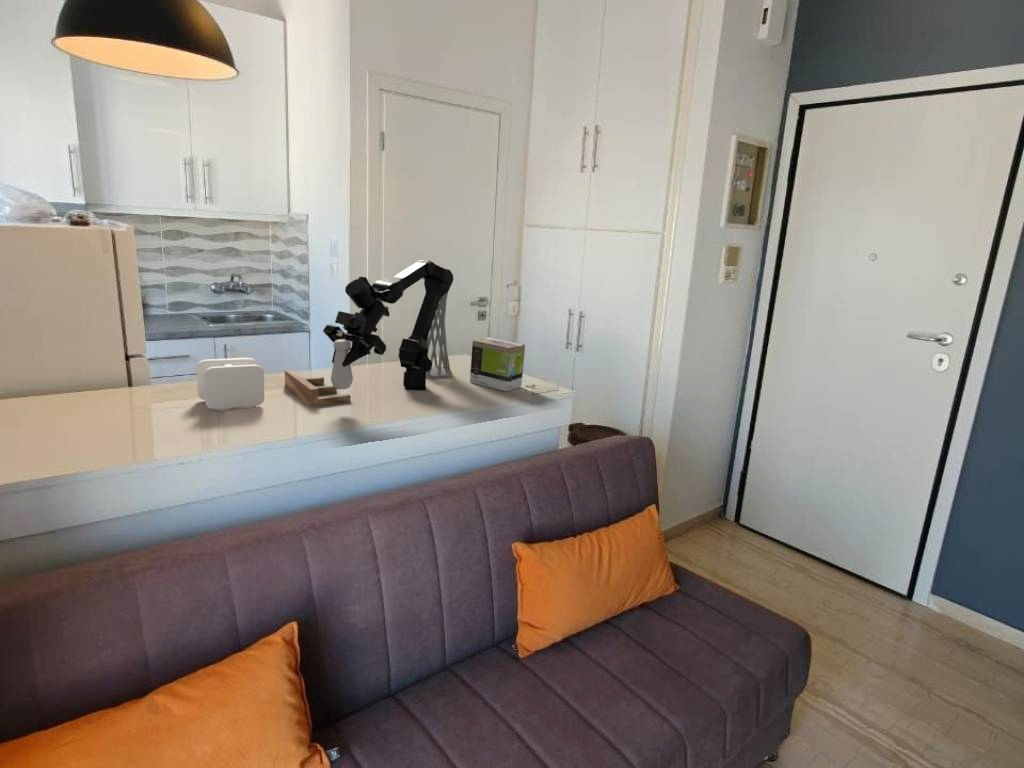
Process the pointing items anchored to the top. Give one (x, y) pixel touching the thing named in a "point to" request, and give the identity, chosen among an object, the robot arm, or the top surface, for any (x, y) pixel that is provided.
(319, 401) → the wooden letter e
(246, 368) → the cable organizer
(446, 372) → the grey lattice tower
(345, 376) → the salt shaker
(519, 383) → the tea box
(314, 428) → the top surface
